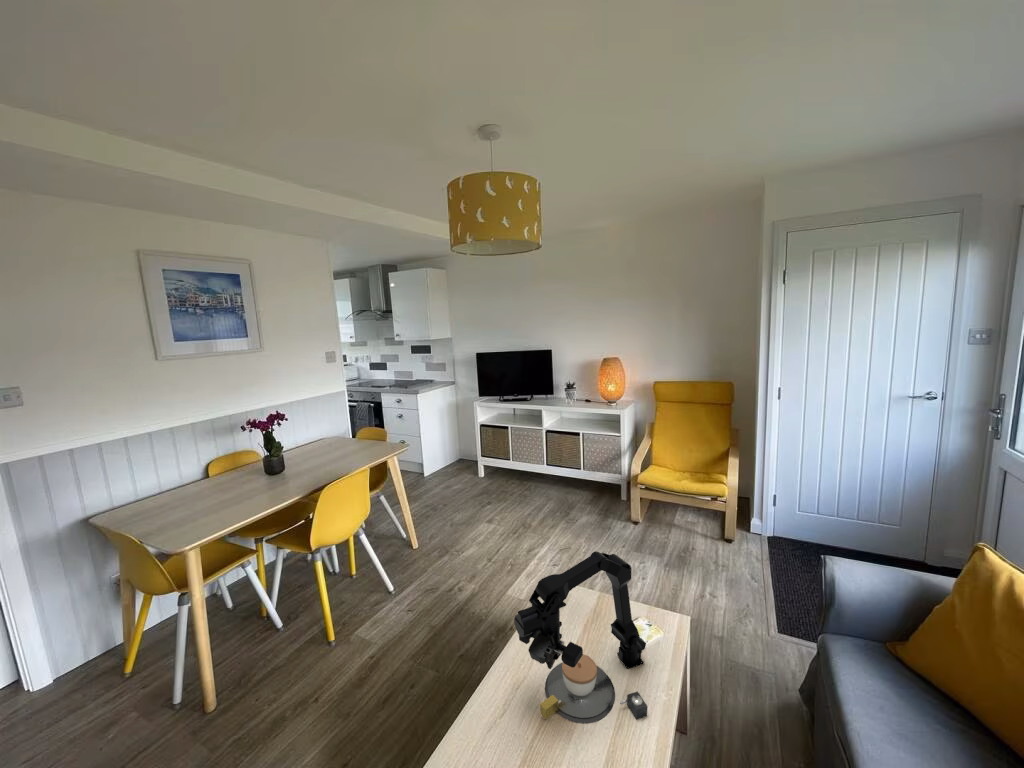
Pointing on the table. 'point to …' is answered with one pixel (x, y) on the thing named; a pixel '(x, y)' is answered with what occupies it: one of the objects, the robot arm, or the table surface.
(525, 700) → the table surface
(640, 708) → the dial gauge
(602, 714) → the turntable base
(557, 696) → the turntable
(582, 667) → the lidded jar
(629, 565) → the robot arm
